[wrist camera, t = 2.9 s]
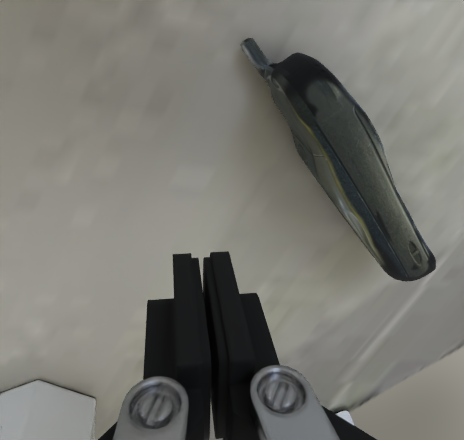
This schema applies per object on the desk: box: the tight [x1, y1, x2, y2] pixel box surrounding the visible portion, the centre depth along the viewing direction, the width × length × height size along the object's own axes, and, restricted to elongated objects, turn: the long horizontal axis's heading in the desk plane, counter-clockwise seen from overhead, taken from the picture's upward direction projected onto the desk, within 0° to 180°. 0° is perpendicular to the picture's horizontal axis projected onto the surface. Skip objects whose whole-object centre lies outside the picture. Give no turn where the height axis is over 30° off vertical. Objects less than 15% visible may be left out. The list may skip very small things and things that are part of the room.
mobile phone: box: [241, 38, 436, 281], centre depth 19 cm, size 5×3×15 cm
